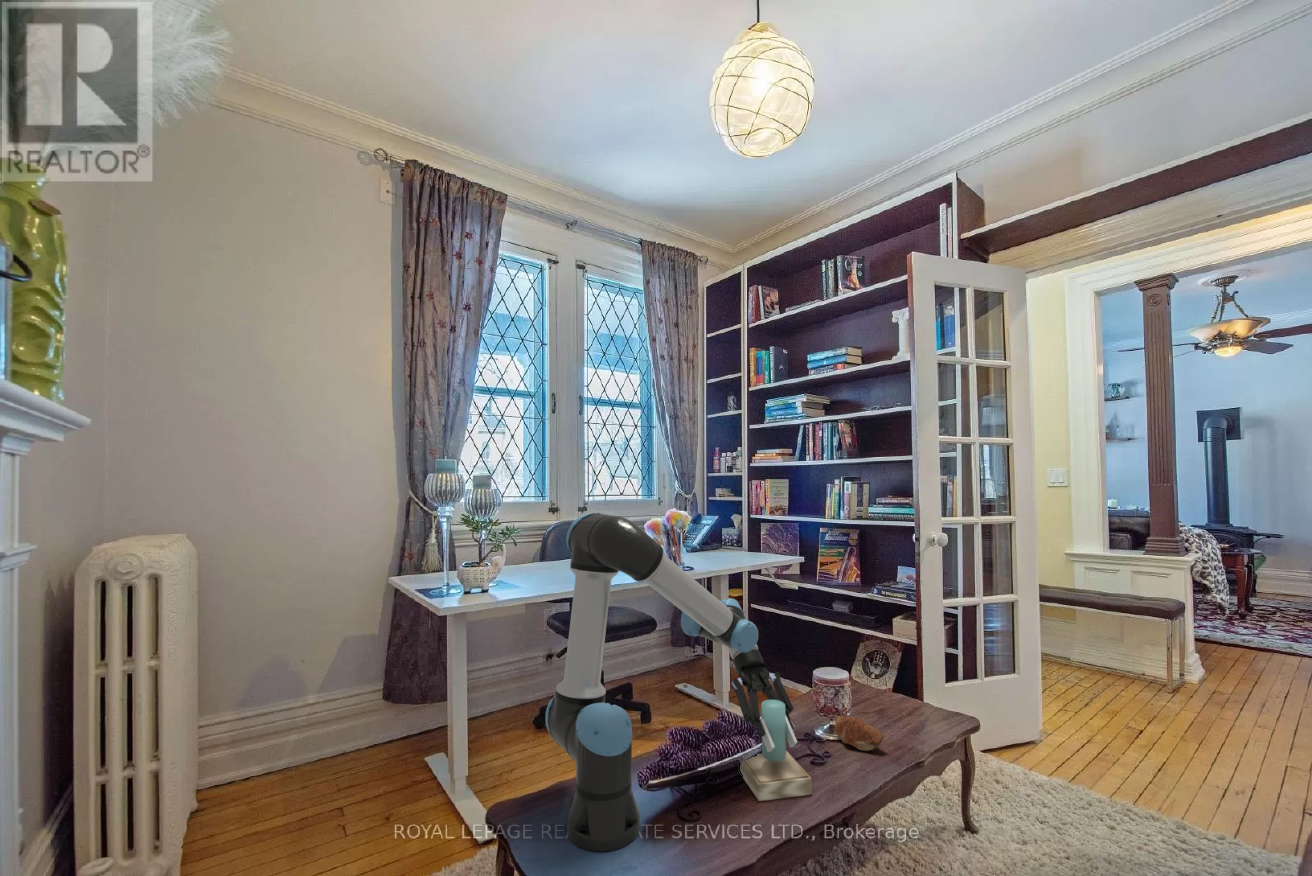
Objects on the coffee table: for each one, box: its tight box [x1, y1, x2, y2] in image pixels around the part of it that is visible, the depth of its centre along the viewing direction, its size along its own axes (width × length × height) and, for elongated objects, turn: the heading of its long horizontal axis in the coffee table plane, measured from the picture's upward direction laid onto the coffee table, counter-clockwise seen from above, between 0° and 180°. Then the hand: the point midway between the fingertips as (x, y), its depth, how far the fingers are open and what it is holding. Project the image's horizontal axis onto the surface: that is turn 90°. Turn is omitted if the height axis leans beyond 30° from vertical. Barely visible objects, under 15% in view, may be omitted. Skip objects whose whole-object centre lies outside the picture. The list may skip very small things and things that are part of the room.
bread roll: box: [834, 715, 885, 752], centre depth 156 cm, size 13×8×10 cm
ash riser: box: [740, 750, 813, 802], centre depth 136 cm, size 13×13×4 cm
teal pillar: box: [761, 699, 787, 761], centre depth 137 cm, size 6×6×12 cm
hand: (782, 747), depth 134 cm, fingers closed on teal pillar, 5 cm apart
